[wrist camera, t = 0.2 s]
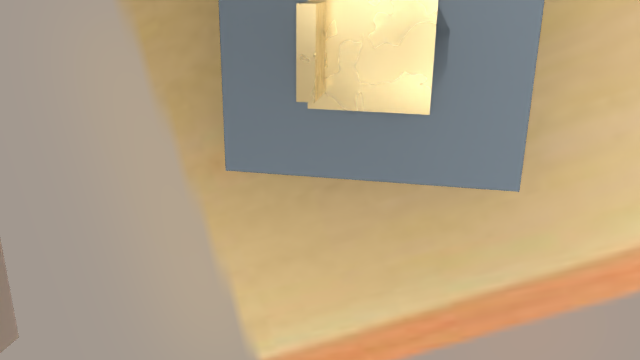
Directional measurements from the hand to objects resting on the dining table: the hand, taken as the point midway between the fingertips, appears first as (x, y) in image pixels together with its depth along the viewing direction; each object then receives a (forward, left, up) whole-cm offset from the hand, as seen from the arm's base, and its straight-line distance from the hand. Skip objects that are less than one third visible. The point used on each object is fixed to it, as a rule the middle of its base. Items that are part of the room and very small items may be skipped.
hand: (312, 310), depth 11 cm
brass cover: (-2, -1, -24) cm, 25 cm away
